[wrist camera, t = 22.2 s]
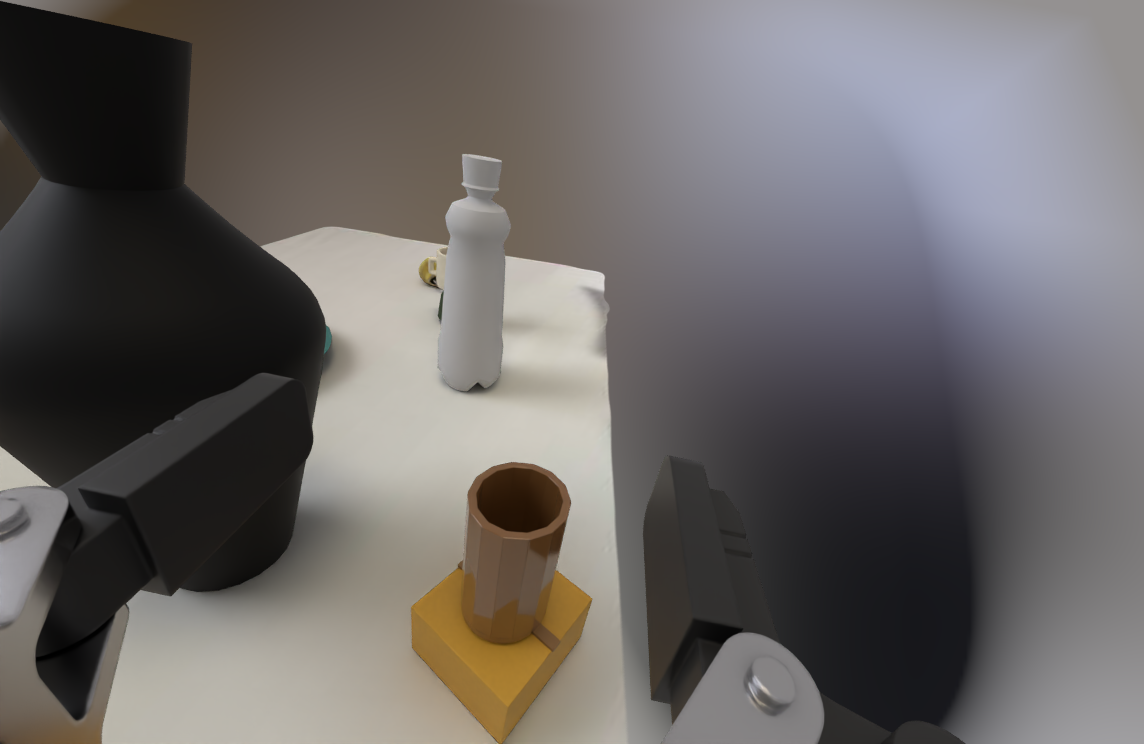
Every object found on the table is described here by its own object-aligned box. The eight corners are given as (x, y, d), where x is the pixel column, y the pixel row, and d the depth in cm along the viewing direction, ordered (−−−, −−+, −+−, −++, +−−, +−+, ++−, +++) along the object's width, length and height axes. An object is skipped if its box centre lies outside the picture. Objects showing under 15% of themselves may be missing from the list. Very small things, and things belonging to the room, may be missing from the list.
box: (581, 637, 34) (594, 597, 32) (501, 747, 27) (509, 706, 25) (498, 566, 38) (503, 526, 36) (410, 646, 31) (409, 603, 29)
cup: (564, 596, 31) (590, 496, 26) (505, 665, 27) (523, 560, 22) (504, 547, 34) (517, 449, 29) (441, 603, 29) (445, 497, 25)
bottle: (487, 360, 70) (504, 157, 55) (509, 390, 63) (534, 168, 49) (430, 367, 65) (432, 147, 51) (447, 399, 59) (454, 158, 44)
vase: (374, 575, 36) (331, 68, 19) (67, 713, 25) (-639, -140, 8) (323, 452, 47) (267, 62, 30) (94, 514, 36) (-192, -33, 19)
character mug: (489, 321, 84) (495, 254, 77) (475, 334, 77) (480, 263, 71) (437, 308, 85) (438, 242, 78) (418, 321, 78) (418, 249, 72)
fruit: (426, 294, 90) (411, 272, 96) (452, 299, 94) (436, 278, 100) (435, 269, 88) (420, 248, 94) (461, 276, 92) (445, 255, 98)
